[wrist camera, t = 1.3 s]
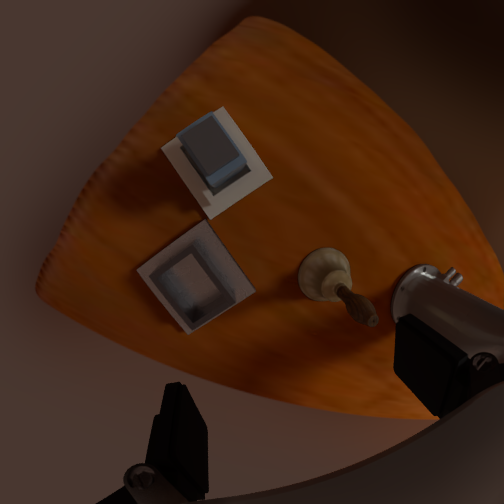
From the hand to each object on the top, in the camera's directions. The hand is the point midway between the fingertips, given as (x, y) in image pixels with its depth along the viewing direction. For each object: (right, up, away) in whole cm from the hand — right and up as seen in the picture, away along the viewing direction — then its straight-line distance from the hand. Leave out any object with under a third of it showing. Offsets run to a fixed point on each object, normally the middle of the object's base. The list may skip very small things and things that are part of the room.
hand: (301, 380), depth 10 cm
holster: (-7, +17, +25) cm, 31 cm away
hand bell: (+9, +2, +30) cm, 31 cm away
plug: (-7, +17, +24) cm, 30 cm away
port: (-10, +2, +28) cm, 30 cm away
